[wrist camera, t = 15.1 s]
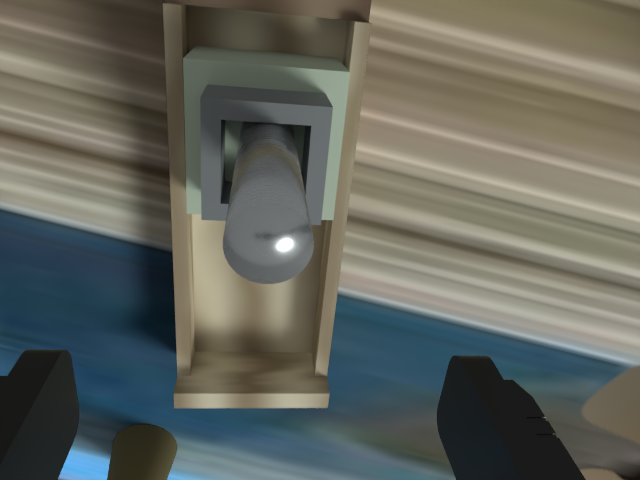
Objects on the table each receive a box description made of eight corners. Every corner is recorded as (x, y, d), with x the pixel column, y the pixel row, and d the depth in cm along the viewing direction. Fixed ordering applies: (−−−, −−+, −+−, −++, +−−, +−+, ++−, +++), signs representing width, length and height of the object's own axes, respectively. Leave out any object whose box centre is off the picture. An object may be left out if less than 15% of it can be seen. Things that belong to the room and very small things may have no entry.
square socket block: (336, 57, 34) (360, 83, 25) (323, 186, 38) (340, 245, 29) (196, 45, 32) (172, 68, 24) (198, 179, 36) (178, 239, 28)
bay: (363, -7, 33) (382, -4, 28) (320, 358, 46) (327, 407, 41) (173, -26, 32) (154, -27, 26) (184, 357, 45) (174, 408, 40)
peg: (295, 110, 29) (318, 205, 16) (291, 161, 30) (309, 285, 18) (241, 106, 29) (223, 200, 16) (240, 158, 30) (222, 282, 17)
